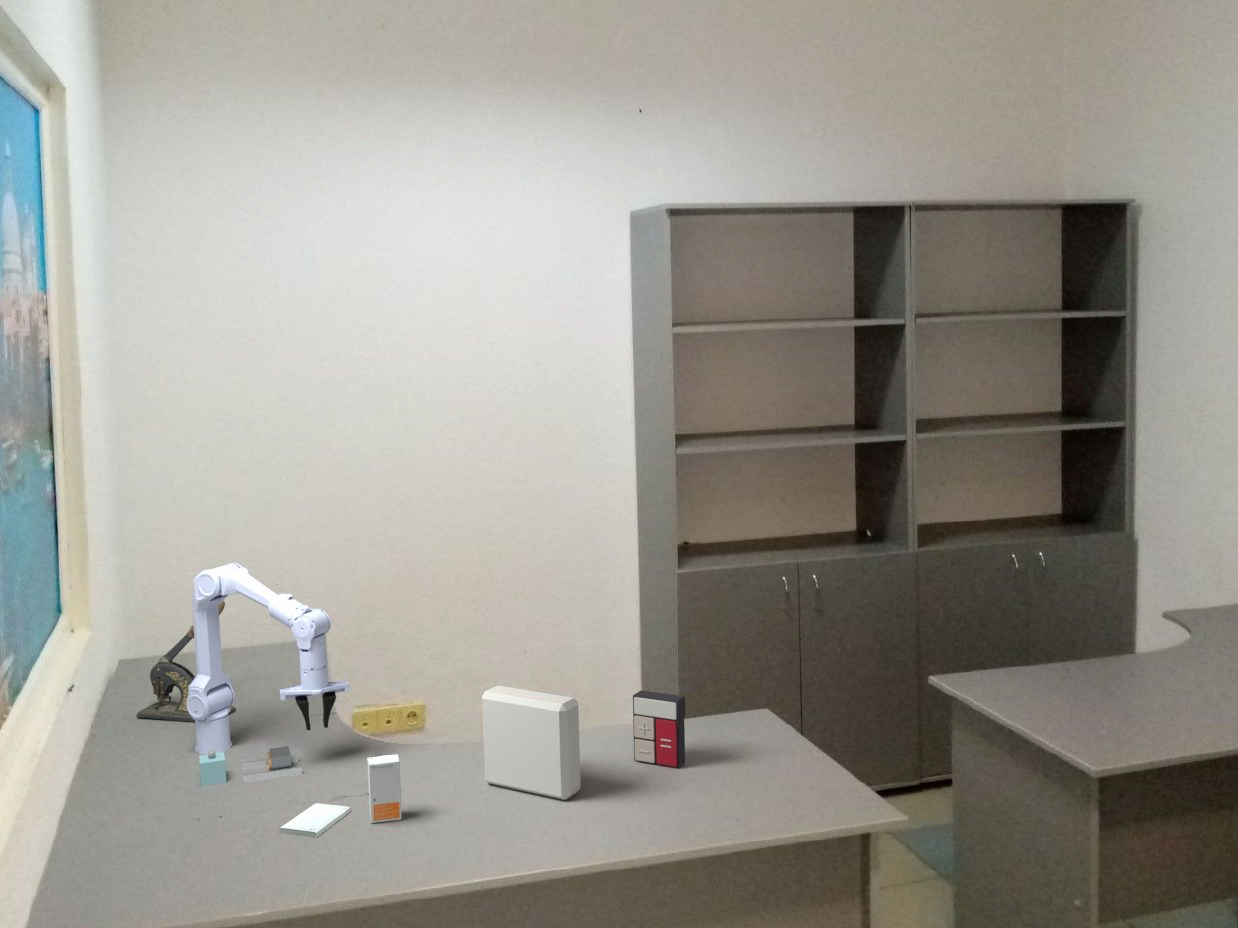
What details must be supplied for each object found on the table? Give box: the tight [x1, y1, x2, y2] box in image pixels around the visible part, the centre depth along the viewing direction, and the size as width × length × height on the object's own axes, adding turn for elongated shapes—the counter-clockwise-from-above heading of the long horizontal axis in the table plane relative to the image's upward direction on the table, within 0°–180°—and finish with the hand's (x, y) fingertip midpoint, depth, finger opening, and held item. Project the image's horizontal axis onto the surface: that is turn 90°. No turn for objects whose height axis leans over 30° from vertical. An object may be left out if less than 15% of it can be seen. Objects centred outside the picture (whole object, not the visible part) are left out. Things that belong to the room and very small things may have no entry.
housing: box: [198, 750, 227, 787], centre depth 249 cm, size 5×5×6 cm
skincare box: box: [366, 754, 402, 824], centre depth 230 cm, size 6×4×12 cm
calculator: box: [632, 689, 686, 769], centre depth 256 cm, size 11×4×15 cm, turn 62°
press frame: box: [240, 753, 303, 783], centre depth 252 cm, size 12×22×3 cm, turn 111°
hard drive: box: [278, 802, 352, 839], centre depth 230 cm, size 2×8×12 cm
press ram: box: [266, 745, 293, 771], centre depth 254 cm, size 6×5×4 cm
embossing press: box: [136, 600, 237, 723], centre depth 295 cm, size 11×24×30 cm, turn 74°
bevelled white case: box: [481, 685, 582, 801], centre depth 244 cm, size 21×8×20 cm, turn 59°
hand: (317, 727), depth 256 cm, fingers open, 3 cm apart
